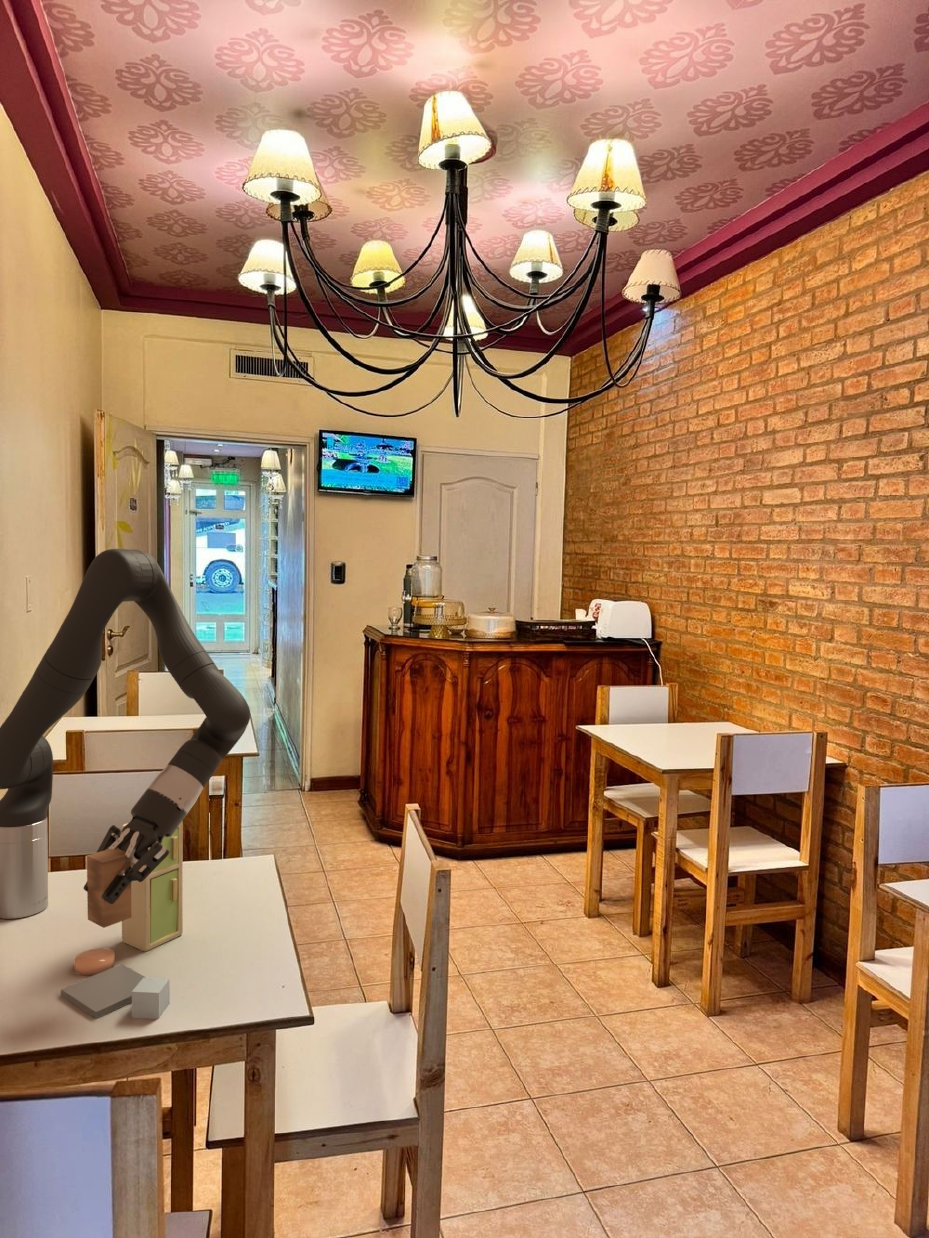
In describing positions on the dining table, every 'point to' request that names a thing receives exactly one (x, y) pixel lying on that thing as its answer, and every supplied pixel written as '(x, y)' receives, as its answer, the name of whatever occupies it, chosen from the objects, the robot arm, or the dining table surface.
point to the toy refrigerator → (158, 900)
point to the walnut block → (98, 879)
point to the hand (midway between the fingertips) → (97, 896)
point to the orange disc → (94, 961)
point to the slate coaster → (103, 990)
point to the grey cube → (150, 998)
